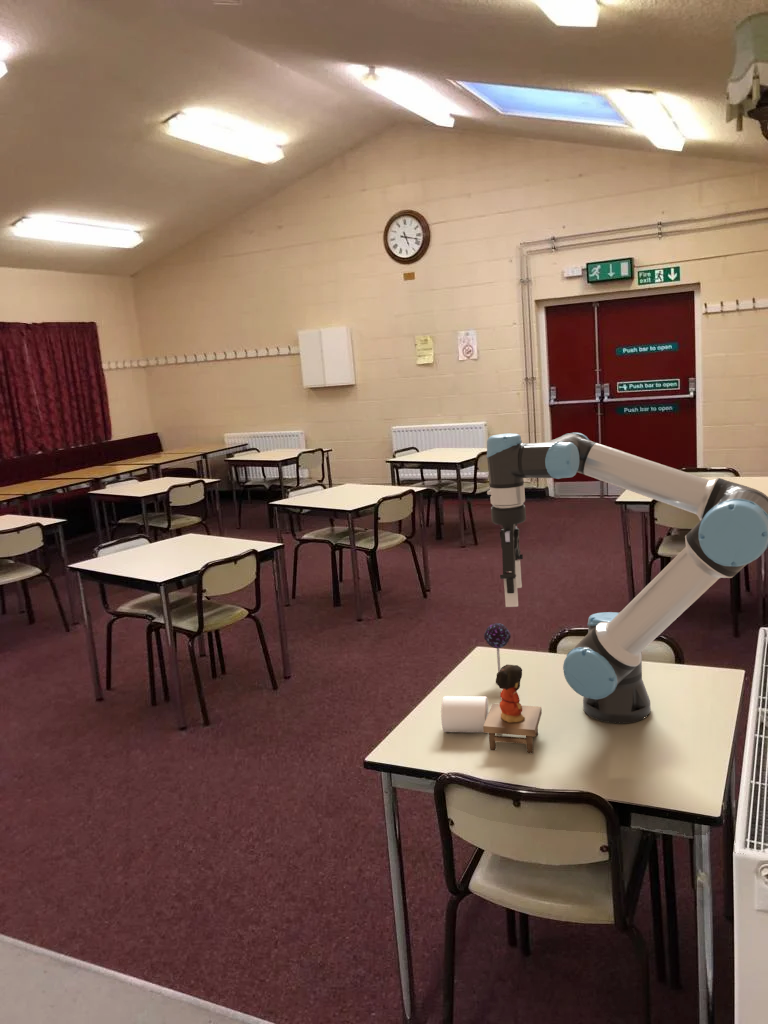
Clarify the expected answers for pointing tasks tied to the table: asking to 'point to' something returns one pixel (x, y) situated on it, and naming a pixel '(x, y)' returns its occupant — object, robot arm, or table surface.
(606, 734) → the table surface
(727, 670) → the table surface
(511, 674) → the figurine
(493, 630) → the lollipop
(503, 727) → the tan legged square part
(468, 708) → the mug
